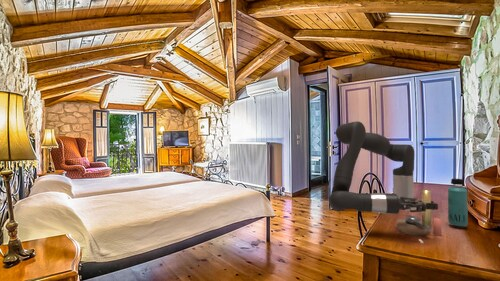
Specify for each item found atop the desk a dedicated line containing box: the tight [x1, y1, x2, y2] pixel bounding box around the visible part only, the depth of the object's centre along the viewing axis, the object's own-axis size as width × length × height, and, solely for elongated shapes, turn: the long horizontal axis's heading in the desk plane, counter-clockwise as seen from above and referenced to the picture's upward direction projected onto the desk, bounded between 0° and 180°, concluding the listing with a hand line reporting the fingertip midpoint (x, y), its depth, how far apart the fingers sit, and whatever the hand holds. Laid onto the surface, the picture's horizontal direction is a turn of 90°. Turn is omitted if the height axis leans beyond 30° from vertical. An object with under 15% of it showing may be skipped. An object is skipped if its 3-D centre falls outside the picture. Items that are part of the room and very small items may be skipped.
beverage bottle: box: [447, 178, 469, 227], centre depth 104 cm, size 6×7×20 cm
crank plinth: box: [396, 218, 431, 237], centre depth 102 cm, size 11×11×3 cm
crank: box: [404, 189, 432, 230], centre depth 98 cm, size 12×5×15 cm, turn 1°
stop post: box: [433, 217, 442, 237], centre depth 97 cm, size 2×2×6 cm
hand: (435, 205), depth 93 cm, fingers closed on crank, 3 cm apart
